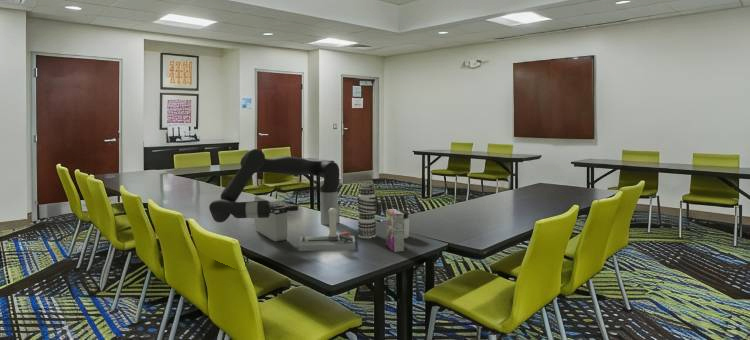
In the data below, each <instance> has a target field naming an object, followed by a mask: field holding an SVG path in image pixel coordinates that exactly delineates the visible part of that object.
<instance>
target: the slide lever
mask: <svg viewBox="0 0 750 340" xmlns="http://www.w3.org/2000/svg"><path fill="white" fill-rule="evenodd" d="M328 213H329V225H328V226H329V229H328V230H329V234H328V235H327V236H328V241H331V240H338V236H339V234H338V233H337V224H336V214H337V210H336V209H335V208H330V209H329V211H328Z"/></svg>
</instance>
